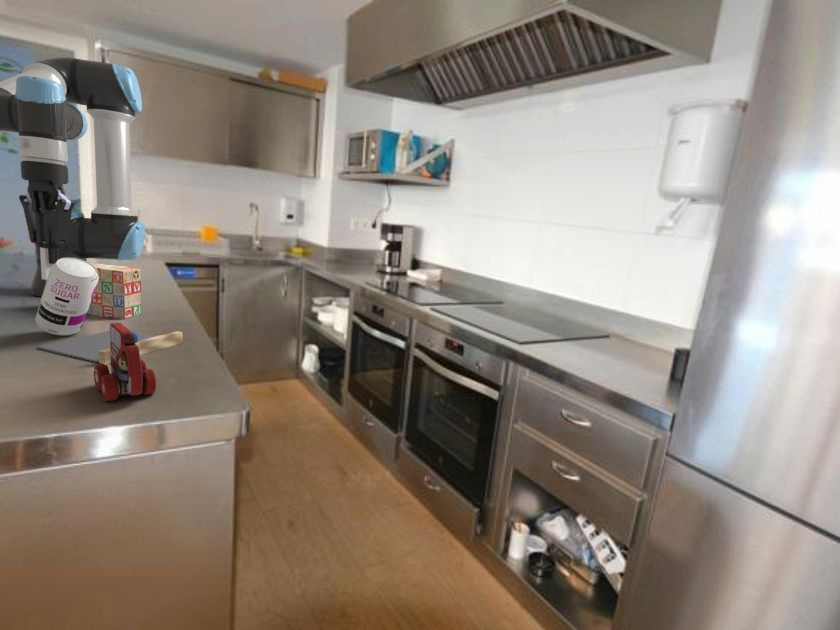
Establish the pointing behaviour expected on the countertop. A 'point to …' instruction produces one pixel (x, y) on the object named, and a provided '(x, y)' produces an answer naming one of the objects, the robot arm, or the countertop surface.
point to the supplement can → (66, 296)
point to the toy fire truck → (124, 367)
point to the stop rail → (148, 345)
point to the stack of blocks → (116, 292)
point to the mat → (86, 345)
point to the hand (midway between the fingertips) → (50, 278)
